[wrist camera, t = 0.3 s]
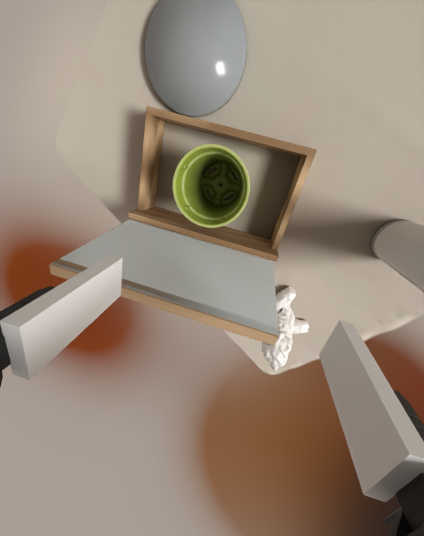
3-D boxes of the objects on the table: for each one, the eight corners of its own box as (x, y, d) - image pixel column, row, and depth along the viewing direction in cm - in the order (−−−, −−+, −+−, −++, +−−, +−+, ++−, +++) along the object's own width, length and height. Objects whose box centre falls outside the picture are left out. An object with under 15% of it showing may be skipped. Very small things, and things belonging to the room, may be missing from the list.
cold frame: (160, 113, 33) (137, 100, 26) (309, 152, 31) (322, 148, 25) (149, 209, 39) (128, 217, 32) (273, 245, 37) (276, 261, 31)
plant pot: (179, 176, 36) (157, 179, 28) (228, 134, 32) (218, 124, 24) (214, 225, 38) (202, 241, 30) (264, 191, 34) (265, 198, 26)
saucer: (154, -26, 27) (151, -32, 26) (261, -3, 26) (261, -9, 25) (143, 104, 32) (140, 103, 32) (230, 127, 32) (229, 126, 31)
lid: (49, 264, 20) (50, 273, 21) (278, 337, 19) (274, 345, 19) (129, 219, 32) (129, 226, 32) (273, 261, 31) (271, 268, 31)
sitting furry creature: (309, 326, 42) (327, 381, 31) (265, 337, 45) (267, 391, 34) (292, 283, 39) (305, 327, 29) (246, 298, 42) (241, 344, 31)
